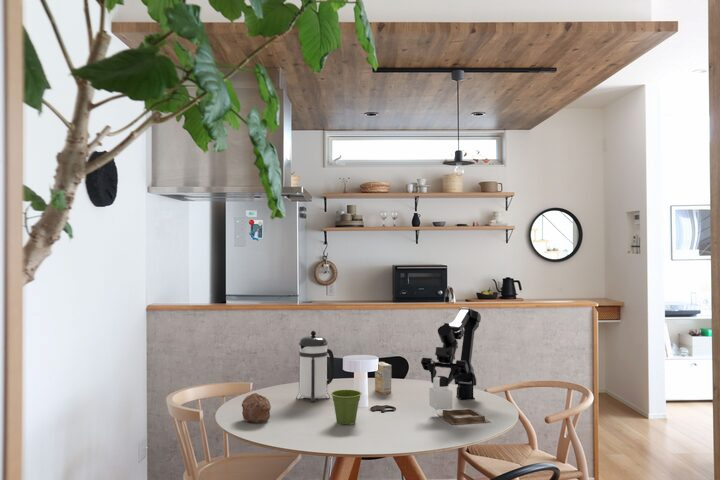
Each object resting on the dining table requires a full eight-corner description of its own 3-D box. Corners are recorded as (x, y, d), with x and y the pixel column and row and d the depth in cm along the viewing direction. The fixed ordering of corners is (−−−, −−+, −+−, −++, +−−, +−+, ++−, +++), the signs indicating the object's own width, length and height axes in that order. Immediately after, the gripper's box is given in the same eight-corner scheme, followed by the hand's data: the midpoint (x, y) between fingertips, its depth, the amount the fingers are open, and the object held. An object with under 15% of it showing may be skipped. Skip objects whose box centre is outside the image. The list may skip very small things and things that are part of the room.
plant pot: (324, 424, 239) (324, 394, 239) (340, 416, 249) (340, 388, 249) (352, 428, 233) (352, 397, 233) (367, 420, 244) (367, 391, 244)
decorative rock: (239, 417, 248) (239, 392, 248) (267, 414, 252) (267, 389, 252) (245, 426, 236) (245, 399, 236) (274, 423, 240) (274, 397, 240)
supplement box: (374, 390, 295) (374, 362, 295) (383, 389, 297) (383, 361, 297) (382, 394, 288) (382, 365, 288) (391, 393, 290) (391, 364, 290)
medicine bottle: (445, 404, 255) (445, 374, 255) (452, 408, 248) (452, 378, 248) (429, 405, 253) (429, 375, 253) (435, 410, 246) (435, 379, 246)
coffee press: (331, 403, 271) (331, 333, 271) (294, 402, 271) (294, 333, 271) (333, 393, 288) (334, 328, 288) (298, 393, 288) (299, 327, 289)
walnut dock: (473, 413, 257) (473, 406, 257) (491, 423, 242) (491, 417, 242) (436, 415, 253) (436, 409, 253) (452, 426, 238) (452, 419, 238)
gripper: (422, 337, 258) (412, 369, 248) (466, 340, 250) (458, 373, 240) (428, 353, 265) (419, 385, 255) (472, 357, 257) (464, 390, 247)
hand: (439, 383), depth 249 cm, fingers closed on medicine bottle, 6 cm apart
